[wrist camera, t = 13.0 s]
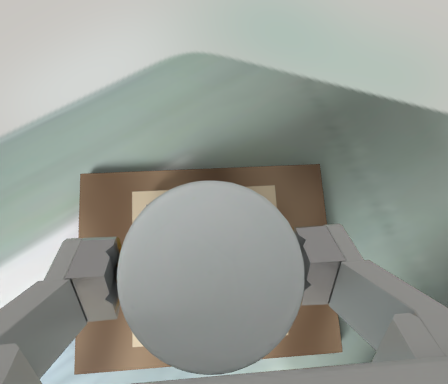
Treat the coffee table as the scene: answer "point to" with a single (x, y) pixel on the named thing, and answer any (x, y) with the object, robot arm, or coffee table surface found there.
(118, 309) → the robot arm
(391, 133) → the coffee table surface
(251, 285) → the supplement bottle
